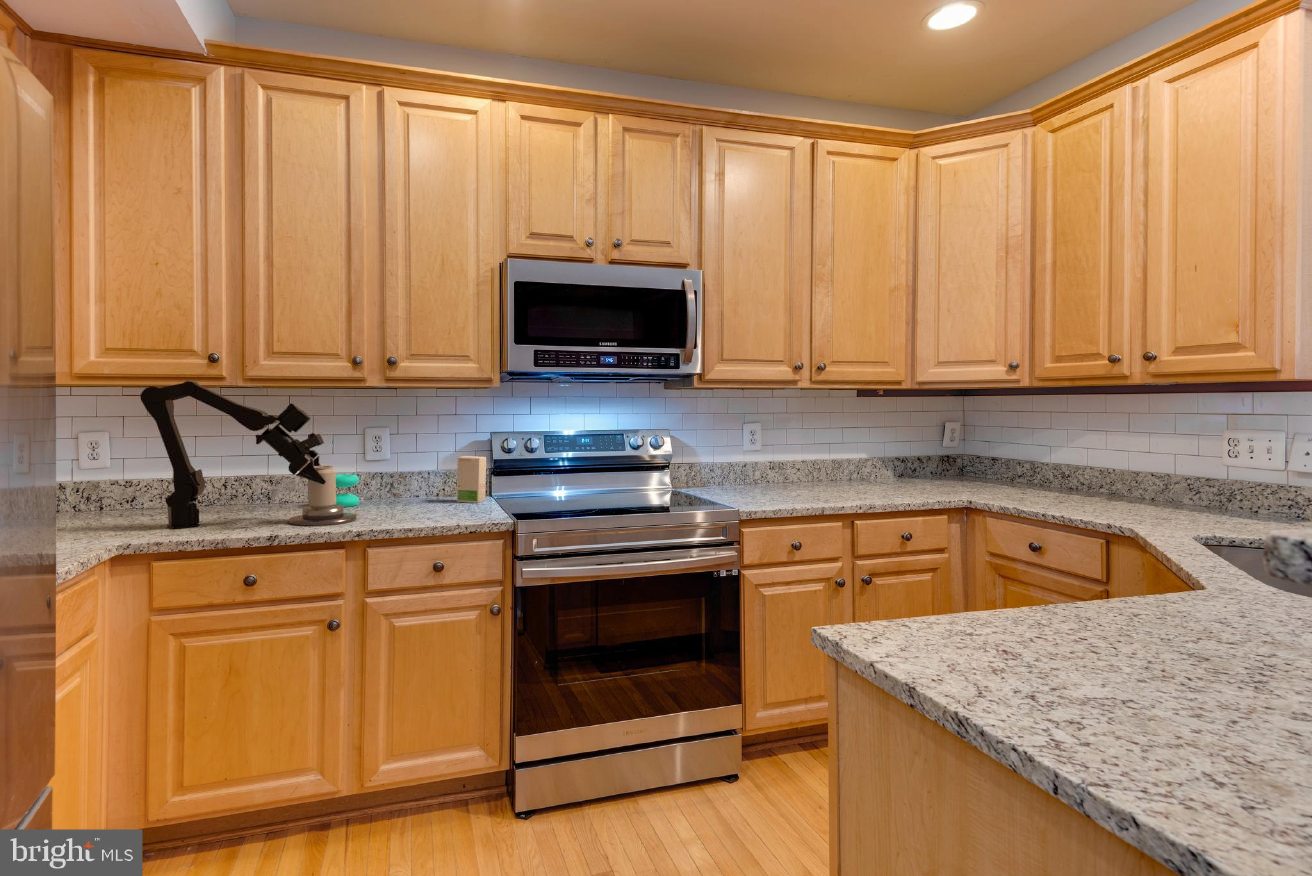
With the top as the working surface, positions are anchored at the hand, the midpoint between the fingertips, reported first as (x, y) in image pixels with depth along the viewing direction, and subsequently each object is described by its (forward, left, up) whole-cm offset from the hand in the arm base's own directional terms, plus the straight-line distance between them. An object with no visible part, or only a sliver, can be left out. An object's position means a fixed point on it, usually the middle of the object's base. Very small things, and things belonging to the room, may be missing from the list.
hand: (326, 481), depth 217 cm
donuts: (+16, +25, -12) cm, 32 cm away
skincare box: (+51, +3, -12) cm, 52 cm away
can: (-1, +1, -8) cm, 8 cm away
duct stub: (-1, +1, -11) cm, 12 cm away
